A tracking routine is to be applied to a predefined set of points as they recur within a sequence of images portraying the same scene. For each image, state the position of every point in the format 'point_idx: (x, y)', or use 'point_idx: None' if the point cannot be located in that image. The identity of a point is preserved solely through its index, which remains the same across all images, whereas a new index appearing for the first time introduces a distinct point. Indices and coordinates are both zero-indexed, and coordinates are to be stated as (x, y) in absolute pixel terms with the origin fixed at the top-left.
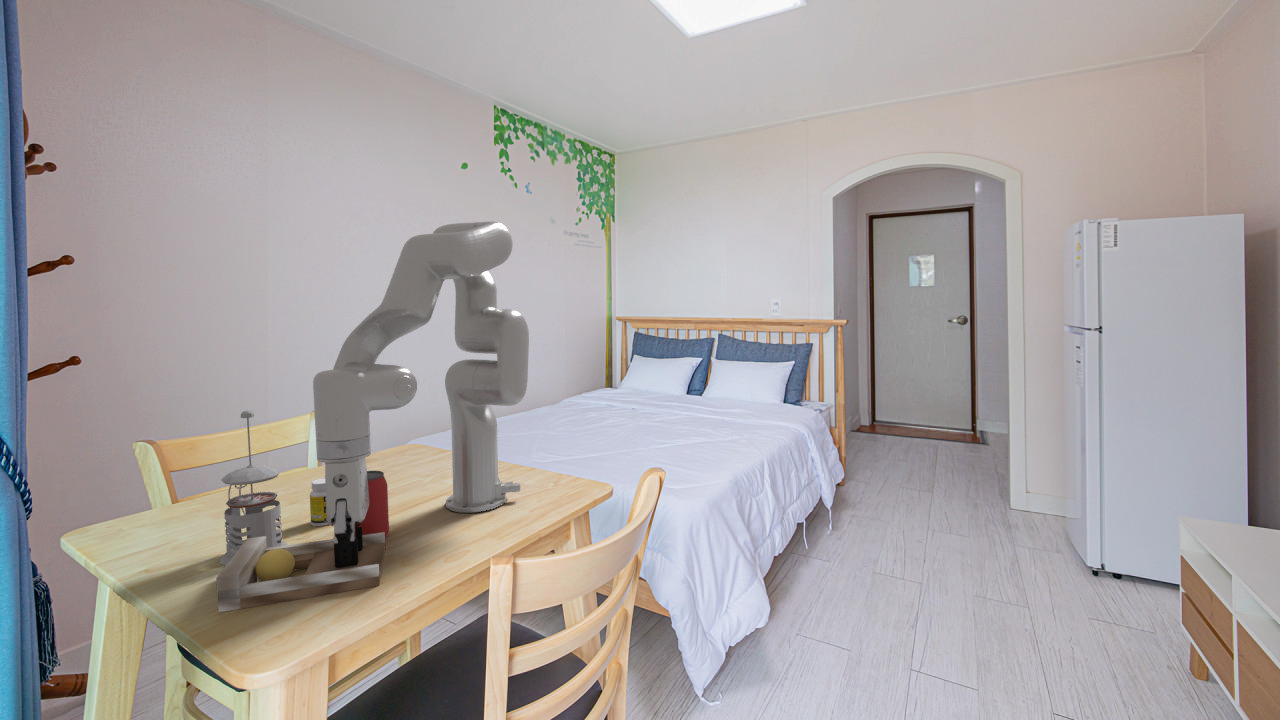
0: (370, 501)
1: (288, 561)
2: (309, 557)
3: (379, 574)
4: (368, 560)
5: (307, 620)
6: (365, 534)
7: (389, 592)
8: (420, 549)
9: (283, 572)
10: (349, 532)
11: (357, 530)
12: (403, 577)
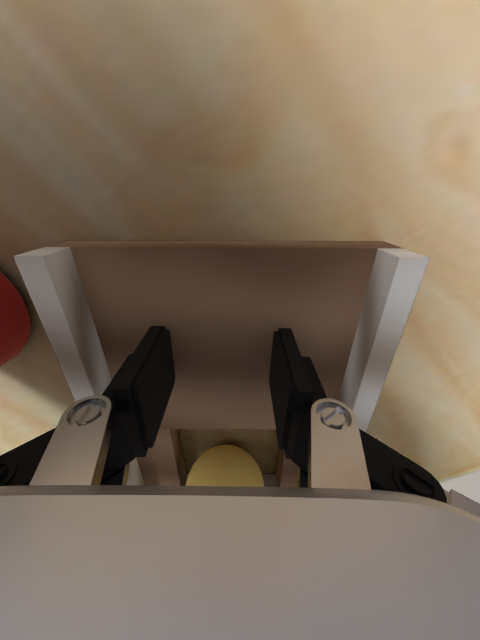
0: None
1: (244, 485)
2: (160, 434)
3: (361, 246)
4: (239, 294)
5: (456, 383)
6: (1, 326)
7: (458, 201)
8: (89, 62)
9: (256, 468)
10: (419, 485)
11: (142, 395)
12: (367, 149)
